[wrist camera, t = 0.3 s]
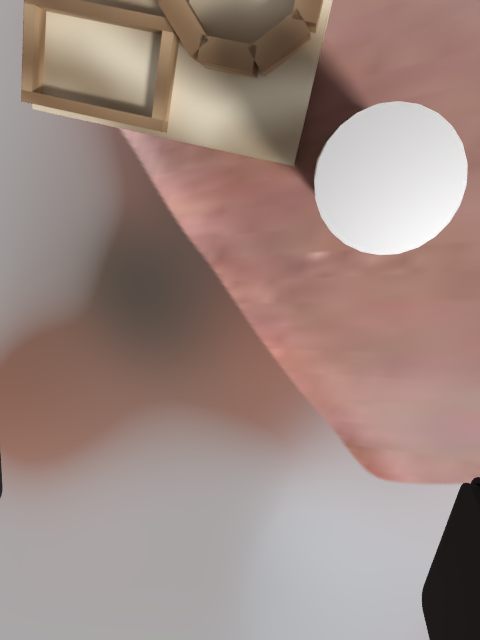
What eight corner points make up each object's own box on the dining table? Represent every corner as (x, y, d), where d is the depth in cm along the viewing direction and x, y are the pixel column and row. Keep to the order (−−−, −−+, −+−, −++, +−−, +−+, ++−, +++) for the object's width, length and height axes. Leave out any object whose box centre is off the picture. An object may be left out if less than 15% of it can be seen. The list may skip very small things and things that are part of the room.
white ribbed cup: (298, 154, 35) (286, 151, 21) (384, 105, 33) (433, 66, 19) (337, 234, 37) (349, 280, 23) (422, 191, 35) (492, 214, 21)
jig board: (51, -140, 32) (19, -177, 28) (353, -88, 30) (357, -120, 27) (40, 110, 37) (12, 105, 34) (294, 166, 36) (291, 166, 32)
